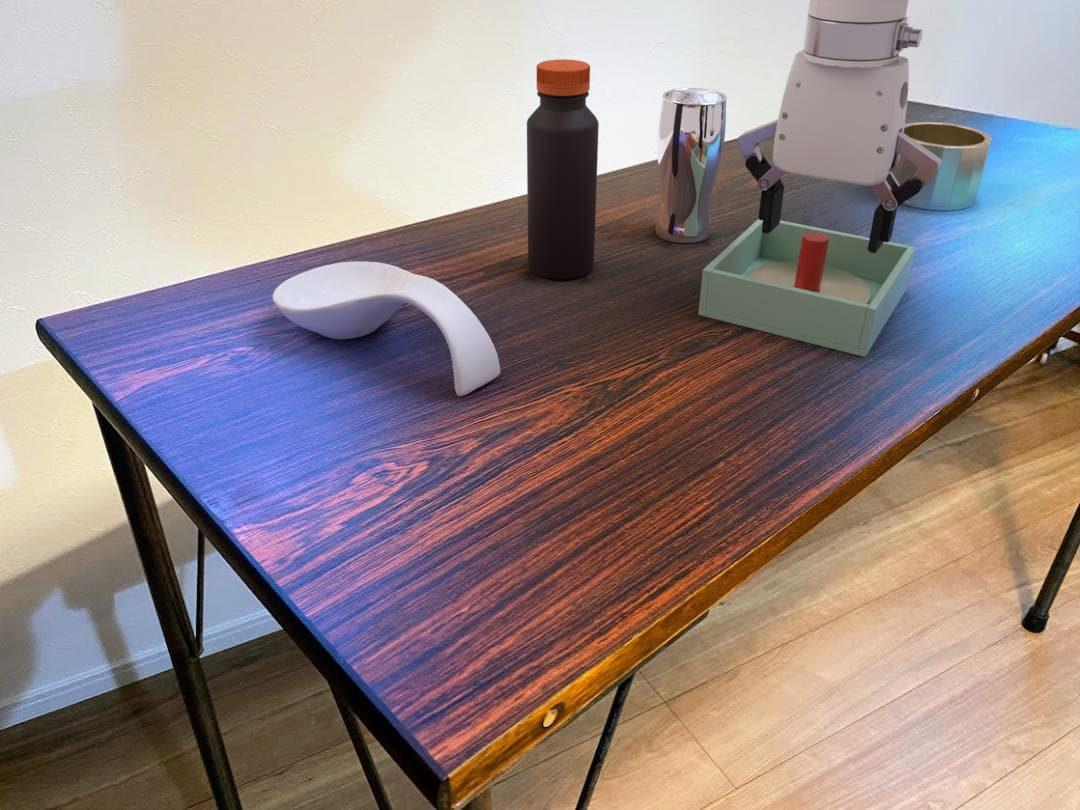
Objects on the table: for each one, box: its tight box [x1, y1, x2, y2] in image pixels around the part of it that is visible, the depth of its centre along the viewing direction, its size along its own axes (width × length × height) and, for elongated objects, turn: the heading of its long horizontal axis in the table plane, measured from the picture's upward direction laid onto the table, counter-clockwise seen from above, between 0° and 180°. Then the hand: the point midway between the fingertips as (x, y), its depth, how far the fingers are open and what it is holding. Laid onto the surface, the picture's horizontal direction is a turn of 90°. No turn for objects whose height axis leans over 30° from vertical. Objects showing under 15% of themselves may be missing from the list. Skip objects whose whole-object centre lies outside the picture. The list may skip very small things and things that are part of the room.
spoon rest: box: [272, 261, 501, 397], centre depth 78 cm, size 24×12×7 cm, turn 49°
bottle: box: [526, 58, 600, 281], centre depth 88 cm, size 7×7×20 cm
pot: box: [891, 121, 993, 212], centre depth 109 cm, size 11×11×8 cm
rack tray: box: [697, 218, 917, 358], centre depth 85 cm, size 15×15×5 cm
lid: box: [747, 232, 871, 304], centre depth 84 cm, size 12×12×6 cm
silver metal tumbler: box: [654, 87, 728, 244], centre depth 97 cm, size 7×7×15 cm
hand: (821, 237), depth 83 cm, fingers open, 9 cm apart
